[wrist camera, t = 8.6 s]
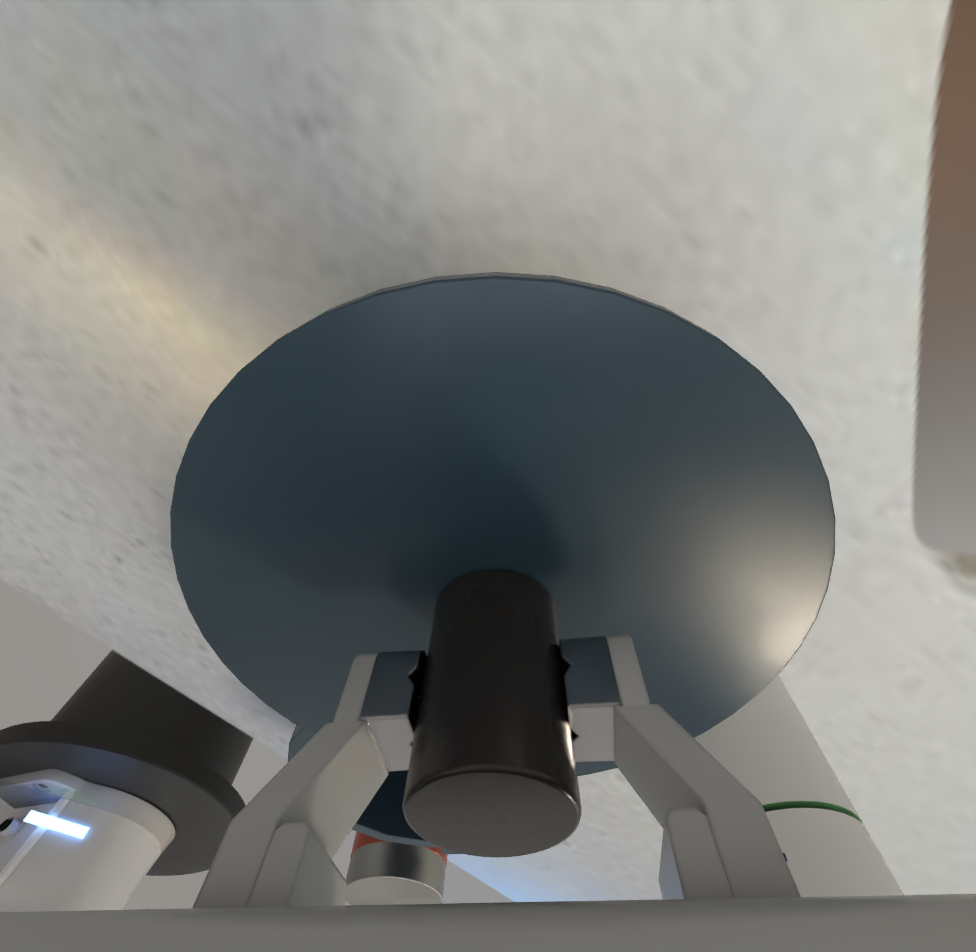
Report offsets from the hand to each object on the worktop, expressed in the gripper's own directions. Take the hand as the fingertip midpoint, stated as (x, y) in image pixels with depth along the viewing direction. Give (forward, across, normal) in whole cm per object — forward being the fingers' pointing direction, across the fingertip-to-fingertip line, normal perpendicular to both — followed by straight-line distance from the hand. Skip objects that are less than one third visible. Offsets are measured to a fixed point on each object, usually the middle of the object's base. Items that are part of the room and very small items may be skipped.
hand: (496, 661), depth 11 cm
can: (+15, -11, -30) cm, 35 cm away
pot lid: (+2, 0, 0) cm, 2 cm away
